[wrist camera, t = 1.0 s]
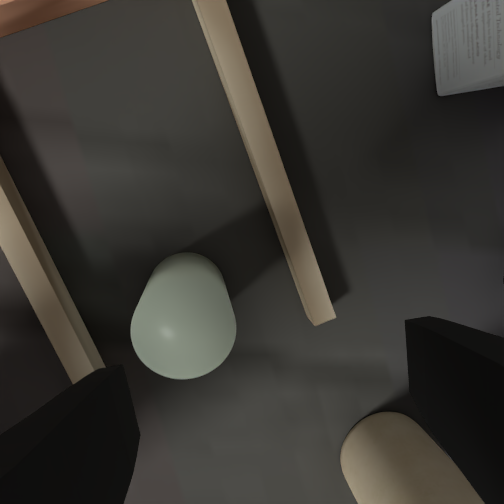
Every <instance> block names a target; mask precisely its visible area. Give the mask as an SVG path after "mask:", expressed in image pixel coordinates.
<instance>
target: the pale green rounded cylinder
mask: <svg viewBox="0 0 504 504" xmlns="http://www.w3.org/2000/svg"><path fill="white" fill-rule="evenodd" d="M235 337H236V320H235V315H234V312H233V309H232V305H231V302H230V299H229V295H228V292H227V289H226V286H225V282H224V279H223V276H222V274H221V272H220V270H219V268H218V267H217V266H216V265H215V264H214V263H213V262H212V261H211V260H210V259H208V258H207V257H205V256H203V255H200V254H197V253H192V252H182V253H177V254H174V255H171V256H169V257H167V258H165V259H164V260H163V261H161V262H160V263H159V264H158V265H157V266H156V268H155V269H154V270H153V272H152V274H151V276H150V278H149V281H148V283H147V285H146V287H145V290H144V292H143V294H142V296H141V298H140V301H139V303H138V305H137V307H136V310H135V312H134V315H133V317H132V322H131V340H132V344H133V347H134V349H135V352H136V353H137V355H138V357H139V358H140V359H141V361H142V362H143V363H144V364H145V365H146V366H147V367H148V368H150V369H151V370H152V371H154V372H156V373H158V374H160V375H162V376H165V377H168V378H173V379H192V378H196V377H200V376H202V375H205V374H207V373H209V372H211V371H212V370H214V369H215V368H217V367H218V366H219V365H220V364H221V363H222V362H223V361H224V360H225V359H226V357H227V356H228V355H229V353H230V351H231V349H232V347H233V344H234V341H235Z"/></svg>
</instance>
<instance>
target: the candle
mask: <svg viewBox="0 0 504 504" xmlns="http://www.w3.org/2000/svg"><path fill="white" fill-rule="evenodd" d="M340 461H341V467H342V471H343V474H344V476H345V478H346V480H347V482H348V485H349V487H350V489H351V491H352V493H353V494H354V496H355V498H356V500H357V502H358V504H485V503H484V502H483V501H482V499H481V498H480V497H479V495H478V494H477V492H476V491H475V490H474V488H473V487H472V486H471V484H470V483H469V482H468V480H467V479H466V477H465V476H464V475H463V473H462V472H461V471H460V469H459V468H458V467H457V466H456V464H455V463H454V462H453V461H452V460H451V459H450V458H449V457H448V456H447V455H446V454H445V453H444V451H443V450H442V449H441V448H440V447H439V446H438V445H437V444H436V443H435V442H434V441H433V440H432V438H431V437H430V436H429V435H428V434H427V433H426V432H425V431H424V430H423V429H422V428H421V427H420V426H419V425H418V424H417V423H416V422H415V421H414V420H412V419H411V418H409V417H408V416H406V415H404V414H401V413H397V412H379V413H376V414H373V415H370V416H368V417H366V418H364V419H363V420H361V421H360V422H358V423H357V424H356V425H355V426H354V427H353V428H352V429H351V430H350V432H349V433H348V435H347V436H346V438H345V440H344V442H343V445H342V448H341V455H340Z"/></svg>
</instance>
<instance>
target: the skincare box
mask: <svg viewBox="0 0 504 504" xmlns="http://www.w3.org/2000/svg"><path fill="white" fill-rule="evenodd" d="M432 40H433V42H432V43H433V54H434V68H435V78H436V88H437V94H438V95H439V96H446V95H452V94H458V93H464V92H471V91H477V90H483V89H489V88H495V87H501V86H504V0H451V1H450V2H448V3H447V4H445V5H444V6H442V7H441V8H439V9H438V10H436V11H435V12H433V13H432Z"/></svg>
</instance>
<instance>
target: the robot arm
mask: <svg viewBox="0 0 504 504" xmlns="http://www.w3.org/2000/svg"><path fill="white" fill-rule="evenodd" d="M405 331H406V346H407V361H408V376H409V392H410V393H411V395H412V397H413V399H414V401H415V403H416V405H417V407H418V409H419V411H420V412H421V414H422V416H423V418H424V420H425V421H426V423H427V425H428V427H429V428H430V429H431V431H432V432H433V434H434V435H435V436H436V438H437V439H438V441H439V442H440V443H441V445H442V446H443V447H444V449H445V450H446V452H447V453H448V454H449V456H450V457H451V458H452V460H453V461H454V463H455V464H456V465H457V467H458V468H459V469H460V471H461V472H462V473H463V475H464V476H465V477H466V479H467V480H468V482H469V483H470V484H471V486H472V487H473V488H474V490H475V491H476V492H477V494H478V495H479V497H480V498H481V499H482V501H483V502H484V503H485V504H504V338H502V337H499V336H496V335H493V334H489V333H486V332H483V331H480V330H477V329H474V328H471V327H467V326H464V325H461V324H458V323H455V322H451V321H448V320H444V319H440V318H436V317H430V316H427V317H421V318H414V319H408V320H405ZM139 439H140V431H139V427H138V423H137V419H136V415H135V411H134V407H133V403H132V399H131V395H130V391H129V387H128V383H127V379H126V375H125V371H124V367H123V365H118V366H111V367H105V368H99V369H97V370H95V371H93V372H91V373H90V374H88V375H87V376H85V377H83V378H82V379H81V380H79V381H78V382H76V383H75V384H73V385H72V386H70V387H69V388H68V389H66V390H65V391H63V392H62V393H61V394H59V395H58V396H56V397H55V398H54V399H52V400H51V401H49V402H48V403H47V404H45V405H44V406H42V407H41V408H40V409H38V410H37V411H35V412H34V413H33V414H31V415H30V416H28V417H27V418H25V419H24V420H22V421H21V422H19V423H18V424H16V425H15V426H13V427H12V428H10V429H9V430H7V431H6V432H4V433H3V434H1V435H0V504H123V503H124V500H125V497H126V494H127V491H128V488H129V485H130V482H131V479H132V475H133V472H134V467H135V462H136V457H137V451H138V445H139Z"/></svg>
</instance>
